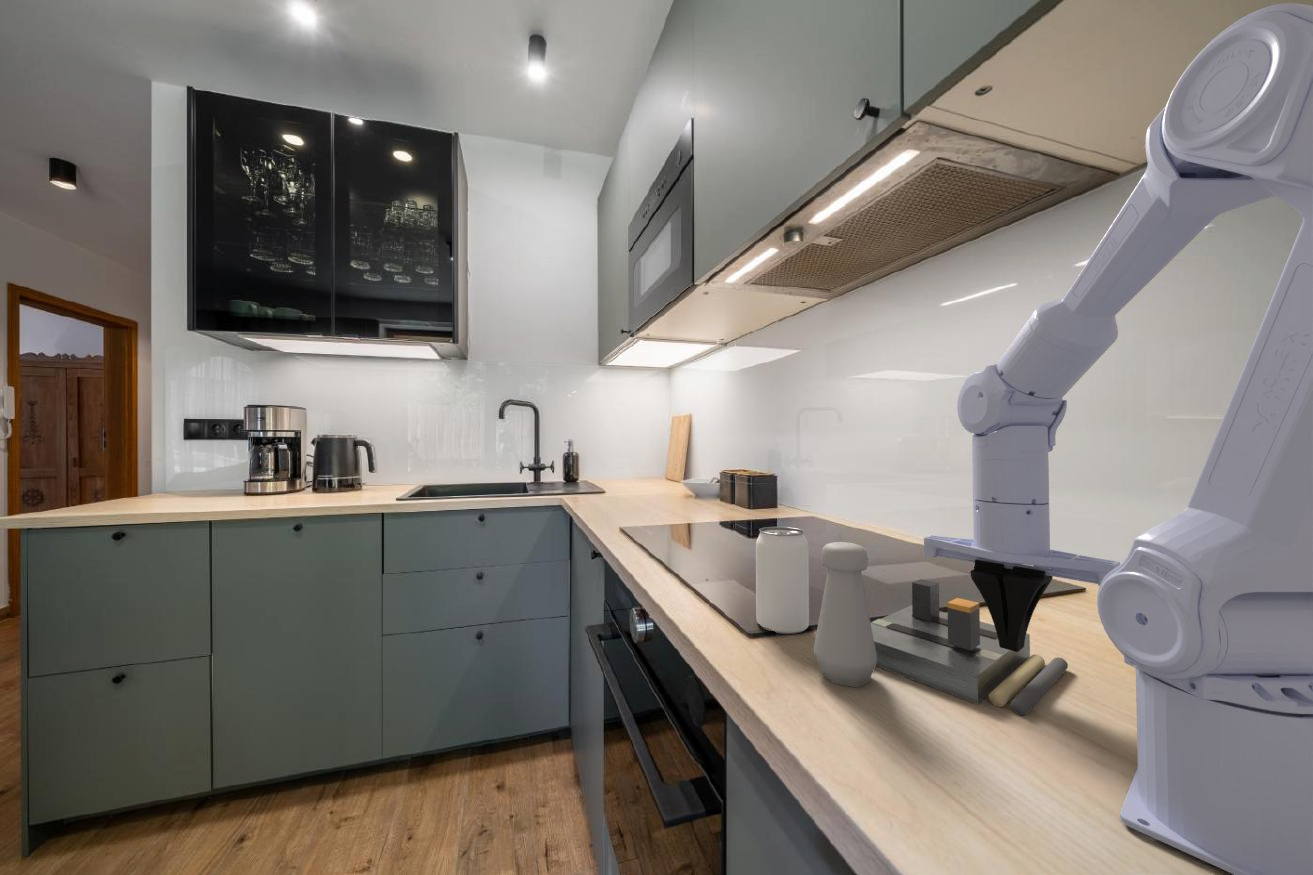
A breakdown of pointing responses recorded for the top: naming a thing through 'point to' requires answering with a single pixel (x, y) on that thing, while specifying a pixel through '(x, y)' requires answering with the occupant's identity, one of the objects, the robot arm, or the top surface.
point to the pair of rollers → (1033, 689)
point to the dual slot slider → (942, 649)
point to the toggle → (963, 623)
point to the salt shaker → (845, 618)
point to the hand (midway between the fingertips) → (1011, 646)
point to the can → (782, 580)
